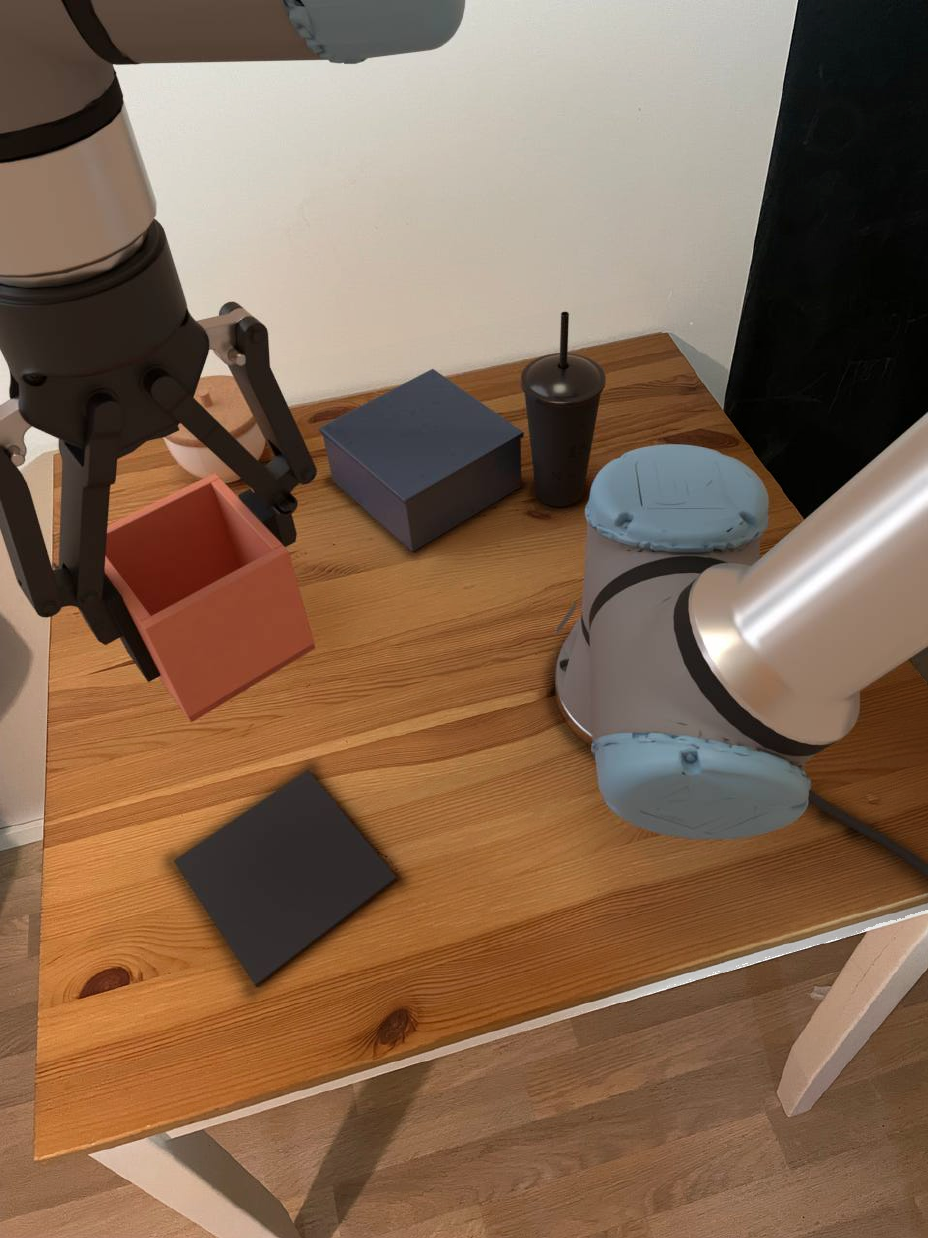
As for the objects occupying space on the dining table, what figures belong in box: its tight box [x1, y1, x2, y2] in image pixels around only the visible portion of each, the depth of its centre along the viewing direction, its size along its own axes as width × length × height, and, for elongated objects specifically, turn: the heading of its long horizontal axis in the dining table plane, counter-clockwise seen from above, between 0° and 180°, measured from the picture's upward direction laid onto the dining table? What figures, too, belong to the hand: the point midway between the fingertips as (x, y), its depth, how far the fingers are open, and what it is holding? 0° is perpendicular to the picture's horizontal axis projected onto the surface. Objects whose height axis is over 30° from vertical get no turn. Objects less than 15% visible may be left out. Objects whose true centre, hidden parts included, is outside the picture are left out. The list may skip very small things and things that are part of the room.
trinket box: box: [162, 374, 267, 484], centre depth 96 cm, size 11×11×9 cm
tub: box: [104, 473, 316, 723], centre depth 50 cm, size 8×8×8 cm
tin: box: [318, 368, 525, 553], centre depth 93 cm, size 14×14×7 cm
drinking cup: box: [519, 311, 607, 508], centre depth 86 cm, size 8×8×20 cm
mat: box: [173, 769, 398, 987], centre depth 68 cm, size 12×12×1 cm
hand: (214, 624), depth 52 cm, fingers closed on tub, 8 cm apart
